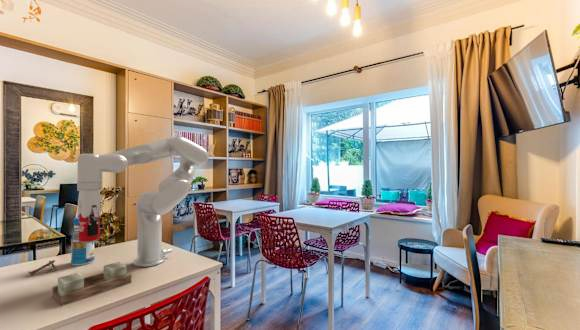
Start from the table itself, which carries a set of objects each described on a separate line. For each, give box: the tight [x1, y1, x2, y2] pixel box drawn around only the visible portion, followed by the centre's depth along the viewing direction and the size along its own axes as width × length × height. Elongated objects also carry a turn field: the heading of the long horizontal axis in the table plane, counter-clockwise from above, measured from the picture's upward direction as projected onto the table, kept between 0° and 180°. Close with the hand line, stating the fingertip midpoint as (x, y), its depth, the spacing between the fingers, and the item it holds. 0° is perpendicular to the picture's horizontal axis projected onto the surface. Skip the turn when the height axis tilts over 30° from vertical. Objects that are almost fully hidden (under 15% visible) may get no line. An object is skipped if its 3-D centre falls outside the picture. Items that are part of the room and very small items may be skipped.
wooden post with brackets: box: [28, 260, 58, 277], centre depth 104 cm, size 2×8×4 cm, turn 134°
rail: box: [52, 261, 132, 306], centre depth 92 cm, size 20×10×6 cm, turn 145°
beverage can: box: [78, 213, 101, 243], centre depth 99 cm, size 6×6×12 cm
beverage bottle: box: [70, 216, 96, 267], centre depth 115 cm, size 8×8×20 cm
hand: (89, 233), depth 99 cm, fingers closed on beverage can, 6 cm apart
